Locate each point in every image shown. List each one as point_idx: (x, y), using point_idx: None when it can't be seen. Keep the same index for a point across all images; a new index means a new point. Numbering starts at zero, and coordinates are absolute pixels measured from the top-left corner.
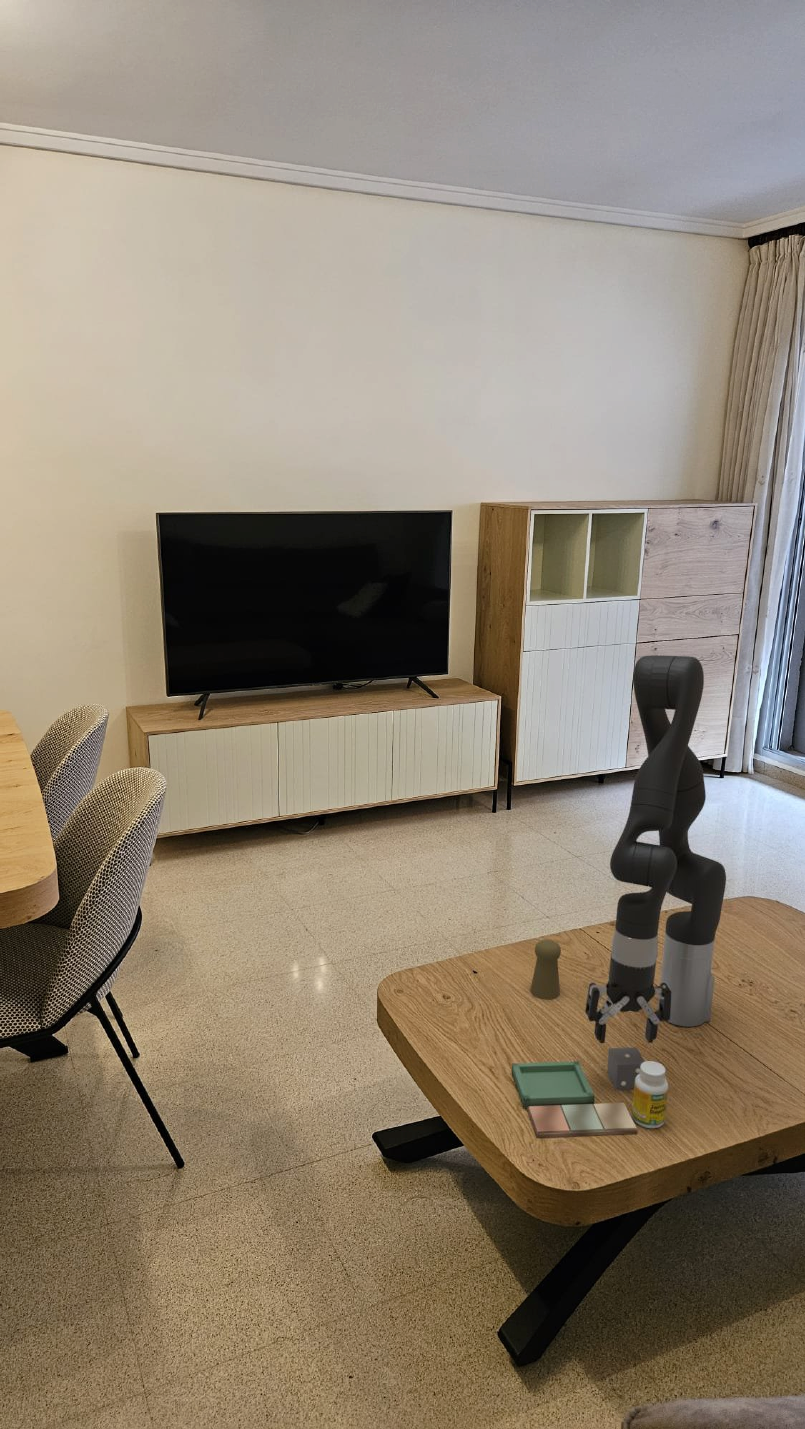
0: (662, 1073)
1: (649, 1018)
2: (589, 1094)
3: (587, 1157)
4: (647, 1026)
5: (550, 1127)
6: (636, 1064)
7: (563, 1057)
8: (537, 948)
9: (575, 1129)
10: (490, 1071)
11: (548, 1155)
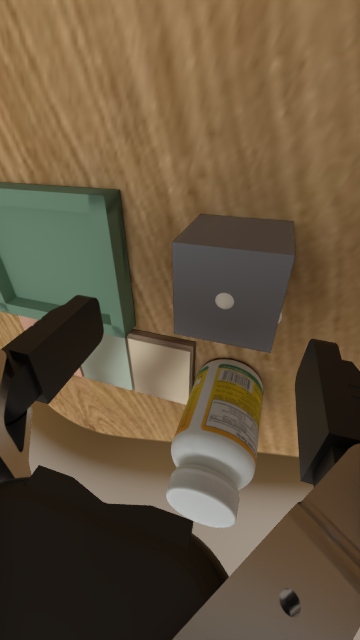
0: (215, 526)
1: (327, 465)
2: (115, 331)
3: (108, 406)
4: (313, 405)
5: None
6: (236, 344)
7: (82, 103)
8: None
9: (91, 378)
10: None
11: (62, 389)
